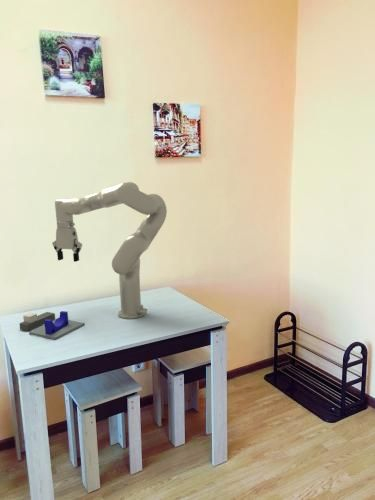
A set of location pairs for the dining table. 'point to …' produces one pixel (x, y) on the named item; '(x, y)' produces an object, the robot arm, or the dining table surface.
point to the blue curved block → (56, 323)
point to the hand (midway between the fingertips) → (68, 260)
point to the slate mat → (65, 330)
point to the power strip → (37, 323)
